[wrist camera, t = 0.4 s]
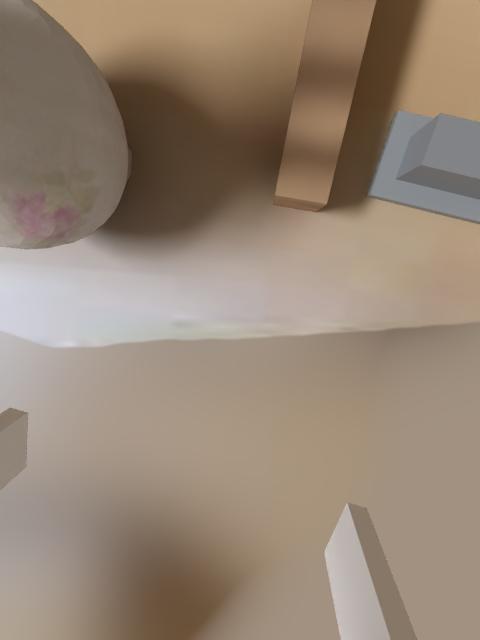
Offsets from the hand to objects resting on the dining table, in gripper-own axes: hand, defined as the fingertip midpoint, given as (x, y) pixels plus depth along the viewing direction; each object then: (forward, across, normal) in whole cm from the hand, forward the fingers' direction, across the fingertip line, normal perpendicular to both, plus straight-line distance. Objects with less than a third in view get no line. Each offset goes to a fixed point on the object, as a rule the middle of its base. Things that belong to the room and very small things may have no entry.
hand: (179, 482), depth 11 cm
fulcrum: (+25, +17, +22) cm, 38 cm away
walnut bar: (+26, +2, +25) cm, 36 cm away
